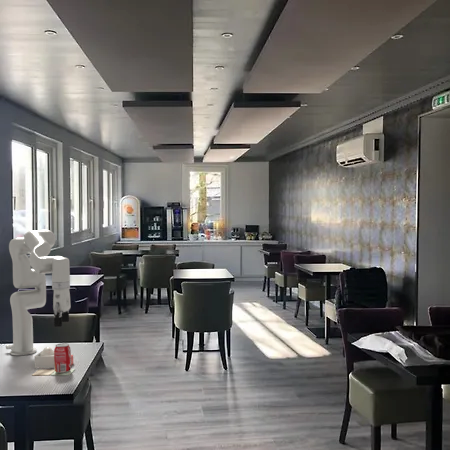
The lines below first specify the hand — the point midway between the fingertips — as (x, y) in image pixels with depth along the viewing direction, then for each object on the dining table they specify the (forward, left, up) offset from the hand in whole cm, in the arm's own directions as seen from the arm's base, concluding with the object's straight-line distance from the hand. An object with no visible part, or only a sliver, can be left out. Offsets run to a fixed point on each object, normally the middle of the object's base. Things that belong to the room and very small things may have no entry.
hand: (61, 324), depth 237 cm
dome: (-11, +12, -18) cm, 24 cm away
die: (-2, +13, -22) cm, 25 cm away
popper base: (-11, +12, -22) cm, 27 cm away
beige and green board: (-4, 0, -22) cm, 22 cm away
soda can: (0, 0, -22) cm, 22 cm away
